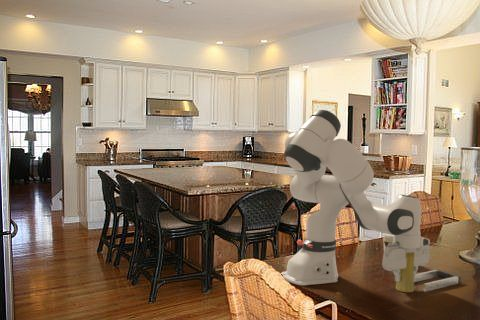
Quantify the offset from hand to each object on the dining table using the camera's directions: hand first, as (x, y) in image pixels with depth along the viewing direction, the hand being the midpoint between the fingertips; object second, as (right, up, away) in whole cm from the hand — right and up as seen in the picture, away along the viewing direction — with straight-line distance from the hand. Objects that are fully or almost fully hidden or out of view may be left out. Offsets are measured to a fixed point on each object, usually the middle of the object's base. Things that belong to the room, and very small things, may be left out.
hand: (405, 279), depth 151 cm
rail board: (+12, -3, +7) cm, 14 cm away
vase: (0, -4, 0) cm, 4 cm away
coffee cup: (+8, -2, +35) cm, 36 cm away
